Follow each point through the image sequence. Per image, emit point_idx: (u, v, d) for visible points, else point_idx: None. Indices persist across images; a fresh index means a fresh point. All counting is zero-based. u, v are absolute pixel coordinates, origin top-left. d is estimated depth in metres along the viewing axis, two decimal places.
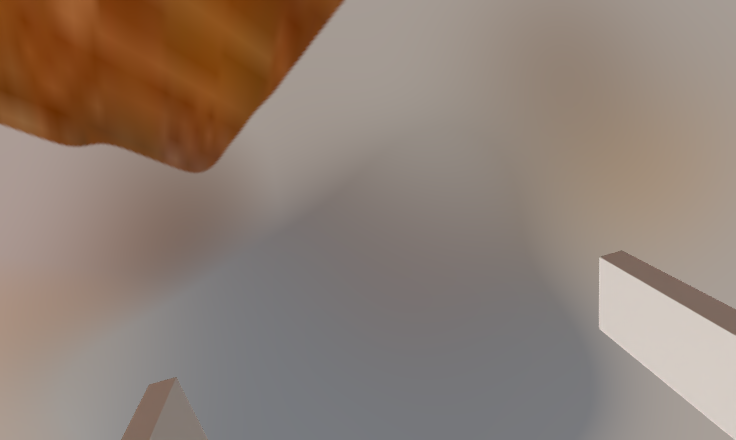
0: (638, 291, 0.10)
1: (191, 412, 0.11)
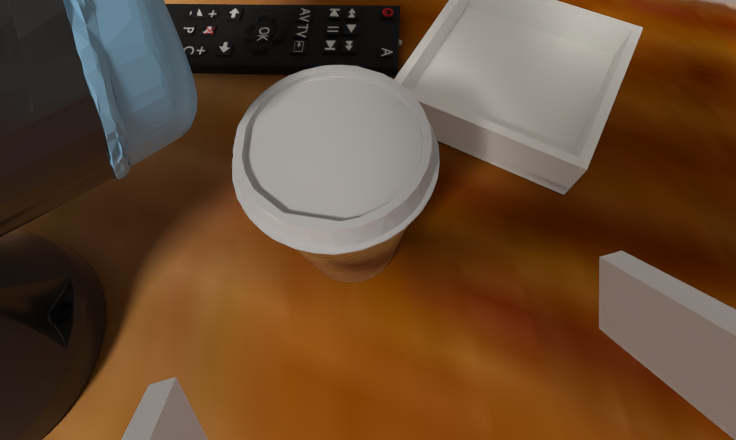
0: (639, 291, 0.10)
1: (191, 412, 0.11)
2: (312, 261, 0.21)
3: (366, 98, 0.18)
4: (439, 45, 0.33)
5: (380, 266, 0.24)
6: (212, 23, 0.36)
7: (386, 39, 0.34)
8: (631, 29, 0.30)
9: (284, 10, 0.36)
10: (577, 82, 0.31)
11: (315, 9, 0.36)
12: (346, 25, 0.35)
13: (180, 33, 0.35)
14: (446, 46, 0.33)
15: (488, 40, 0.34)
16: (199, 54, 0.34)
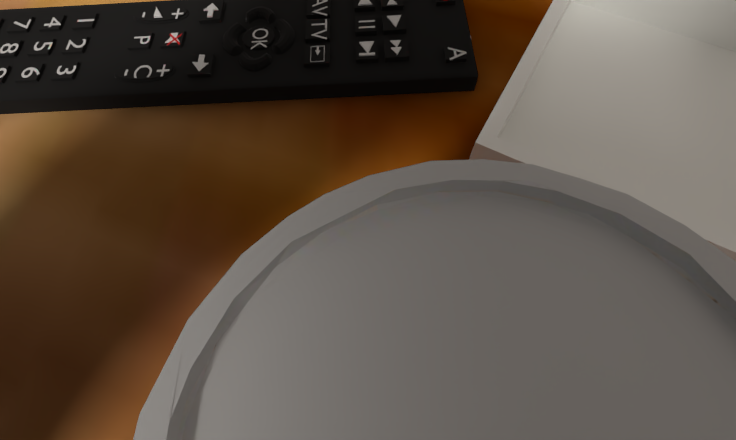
0: None
1: None
2: None
3: (576, 278, 0.05)
4: (538, 62, 0.21)
5: None
6: (178, 27, 0.23)
7: (450, 33, 0.22)
8: None
9: (287, 1, 0.24)
10: None
11: None
12: (386, 17, 0.23)
13: (129, 46, 0.23)
14: (548, 63, 0.21)
15: (614, 54, 0.21)
16: (161, 76, 0.21)
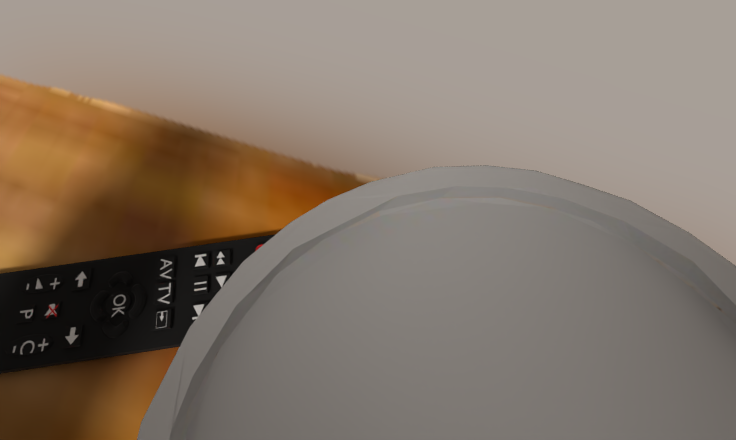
0: None
1: None
2: None
3: (579, 285, 0.05)
4: None
5: None
6: (56, 297, 0.30)
7: None
8: None
9: (142, 262, 0.31)
10: None
11: (178, 255, 0.31)
12: (215, 277, 0.30)
13: (16, 320, 0.29)
14: None
15: None
16: (42, 350, 0.28)
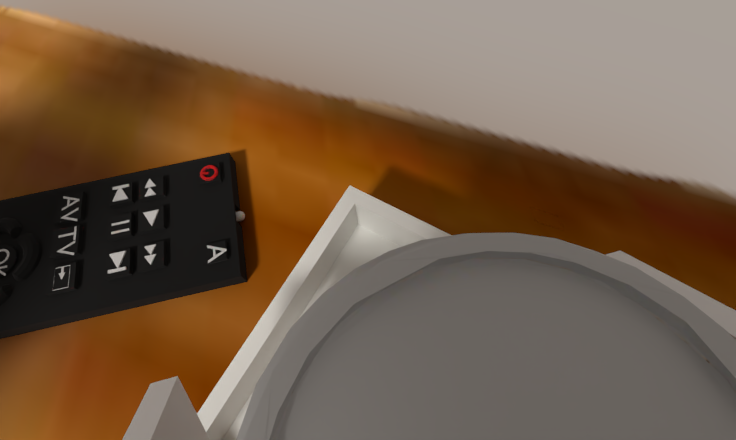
0: None
1: (193, 411, 0.11)
2: None
3: (592, 338, 0.07)
4: (293, 324, 0.18)
5: None
6: None
7: (214, 222, 0.21)
8: None
9: (37, 204, 0.21)
10: None
11: (90, 190, 0.22)
12: (143, 213, 0.21)
13: None
14: None
15: None
16: None
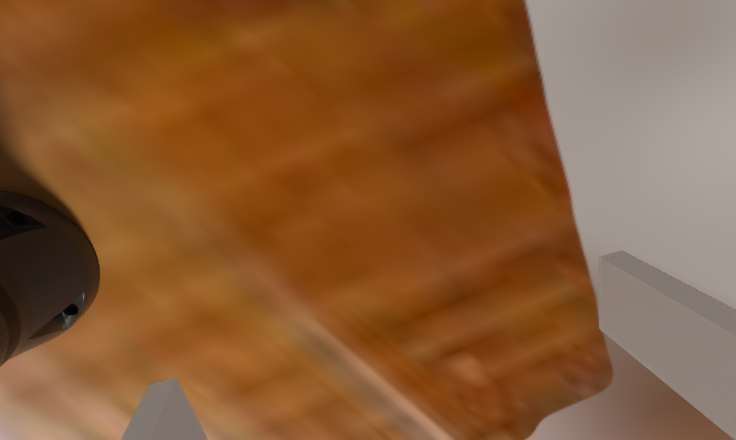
0: (638, 292, 0.10)
1: (192, 412, 0.11)
2: None
3: None
4: None
5: None
6: None
7: None
8: None
9: None
10: None
11: None
12: None
13: None
14: None
15: None
16: None
